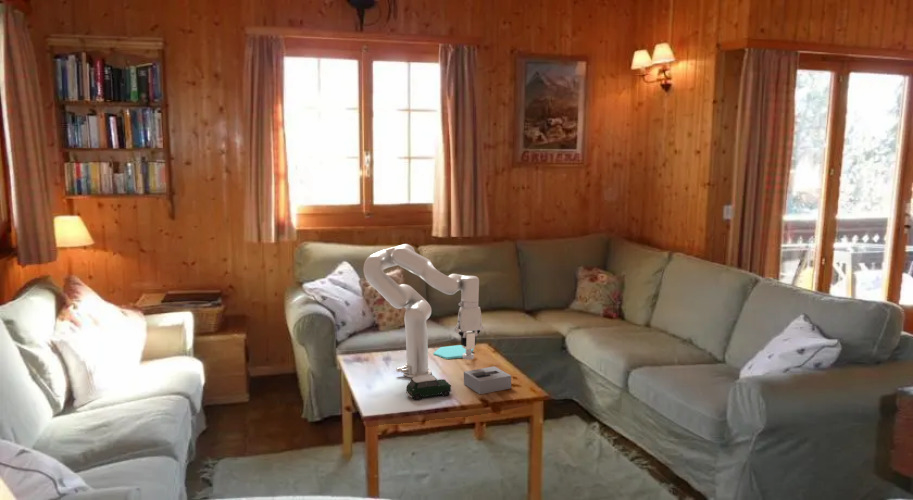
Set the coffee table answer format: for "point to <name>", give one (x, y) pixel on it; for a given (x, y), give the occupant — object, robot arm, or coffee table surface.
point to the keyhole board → (487, 380)
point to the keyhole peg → (469, 345)
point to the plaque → (451, 352)
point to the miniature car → (427, 387)
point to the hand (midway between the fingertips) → (468, 344)
